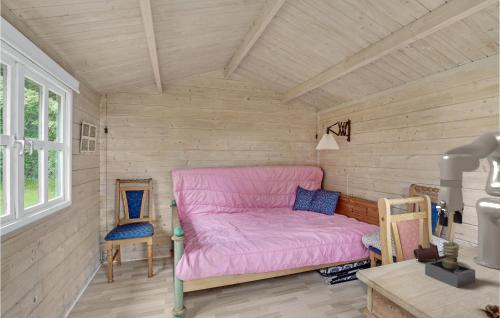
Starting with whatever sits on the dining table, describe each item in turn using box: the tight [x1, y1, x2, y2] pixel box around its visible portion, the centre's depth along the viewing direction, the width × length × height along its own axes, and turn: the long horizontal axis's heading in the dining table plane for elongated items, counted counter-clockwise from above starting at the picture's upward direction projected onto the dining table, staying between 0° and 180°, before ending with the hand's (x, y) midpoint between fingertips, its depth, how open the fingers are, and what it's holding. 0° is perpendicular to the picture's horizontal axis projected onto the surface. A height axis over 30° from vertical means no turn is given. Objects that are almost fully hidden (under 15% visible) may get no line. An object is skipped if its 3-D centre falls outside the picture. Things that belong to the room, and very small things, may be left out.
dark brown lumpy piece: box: [413, 240, 458, 262], centre depth 126 cm, size 6×17×10 cm, turn 78°
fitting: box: [424, 259, 476, 289], centre depth 110 cm, size 12×12×5 cm
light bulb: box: [442, 241, 460, 273], centre depth 110 cm, size 6×6×15 cm
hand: (450, 224), depth 110 cm, fingers open, 9 cm apart
